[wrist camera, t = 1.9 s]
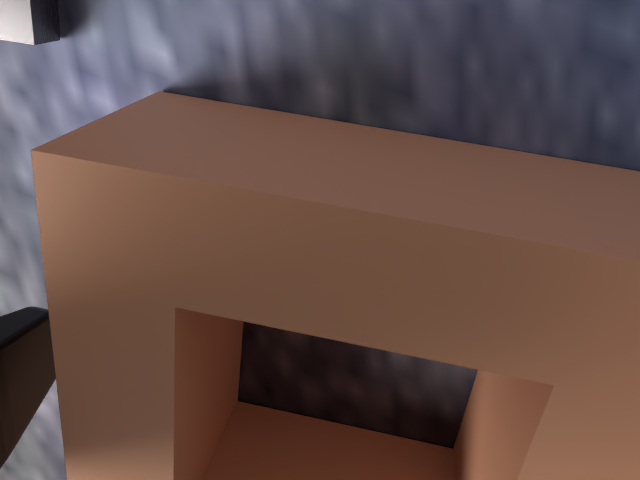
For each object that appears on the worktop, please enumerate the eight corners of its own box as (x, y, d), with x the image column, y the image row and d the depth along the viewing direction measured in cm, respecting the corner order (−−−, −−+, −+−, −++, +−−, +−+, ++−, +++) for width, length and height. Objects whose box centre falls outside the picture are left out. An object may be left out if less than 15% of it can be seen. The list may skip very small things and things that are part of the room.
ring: (660, 174, 8) (784, 287, 5) (514, 524, 11) (543, 709, 8) (159, 91, 8) (31, 150, 6) (161, 441, 11) (79, 586, 9)
